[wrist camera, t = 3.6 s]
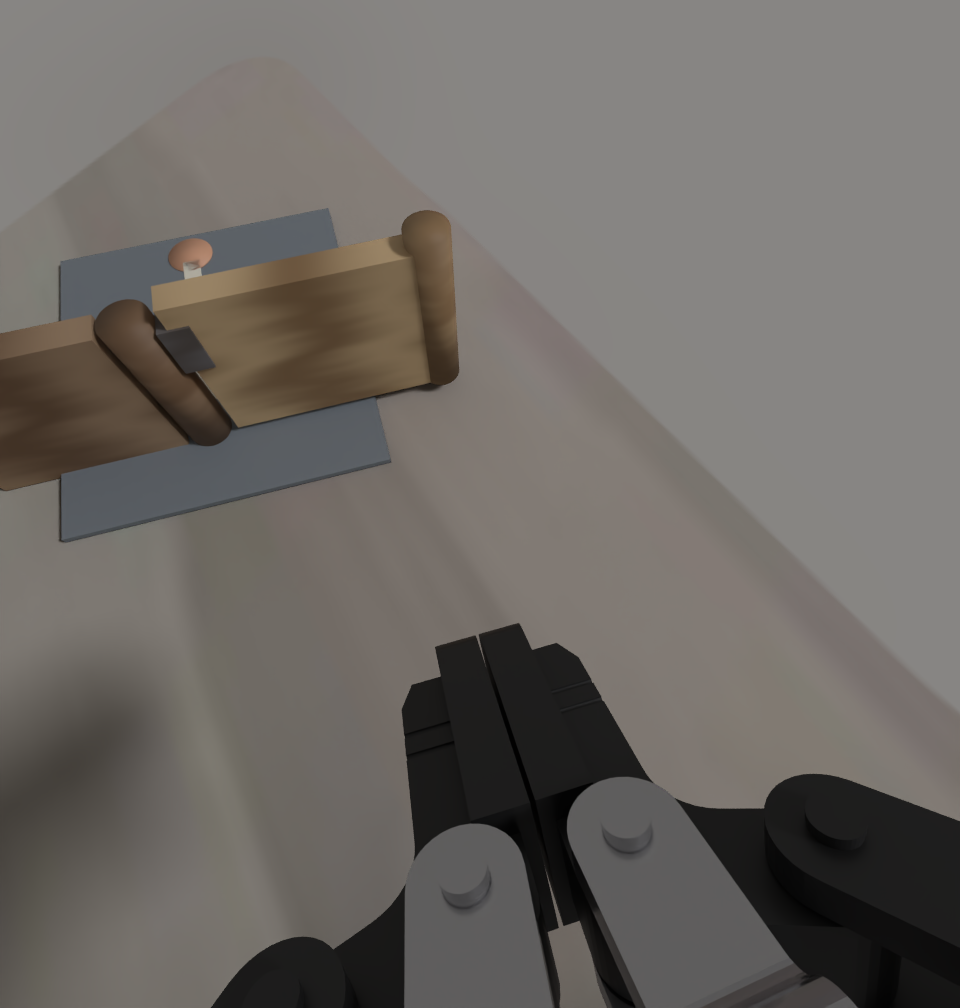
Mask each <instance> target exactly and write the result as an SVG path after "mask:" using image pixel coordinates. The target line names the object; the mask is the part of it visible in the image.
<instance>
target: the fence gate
mask: <svg viewBox="0 0 960 1008" xmlns="http://www.w3.org/2000/svg"><path fill="white" fill-rule="evenodd" d="M151 293H152V305H153V312H154V317H155V329H156V336H157V337H158V338H159V340H160V341H161V342H162V344H163V345H164V346H165V347H166V349H167V350H168V351H169V353H170V354H171V355H172V356H173V358H174V359H175V360H176V362H177V363H178V364H179V366H180V367H181V368H182V369H183V371H184V372H185V373H186V374H188V373H192V372H198V373H199V375H200V376H201V377H202V379H203V380H204V382H205V383H206V384H207V386H208V387H209V388H210V390H211V391H212V392H213V394H214V395H215V396H216V398H217V399H218V400H219V402H220V403H221V405H222V406H223V407H224V409H225V410H226V411H227V413H228V414H229V415H230V417H231V418H232V419H233V421H234V422H235V424H236V425H237V426H238V428H239V427H243V426H247V425H251V424H256V423H260V422H264V421H269V420H273V419H277V418H281V417H286V416H290V415H294V414H299V413H303V412H307V411H311V410H316V409H320V408H324V407H328V406H333V405H337V404H341V403H346V402H350V401H354V400H358V399H363V398H367V397H371V396H375V395H380V394H384V393H388V392H393V391H397V390H401V389H405V388H410V387H414V386H418V385H422V384H427V383H433V384H436V385H445V384H448V383H450V382H452V381H453V380H455V379H456V377H457V376H458V373H459V359H458V342H457V325H456V307H455V290H454V273H453V255H452V238H451V225H450V222H449V220H448V219H447V218H446V217H445V216H444V215H443V214H441V213H439V212H436V211H430V210H424V211H419V212H416V213H413V214H411V215H410V216H408V217H407V218H406V219H405V221H404V222H403V224H402V235H397V236H392V237H388V238H383V239H378V240H373V241H368V242H363V243H359V244H354V245H349V246H344V247H339V248H334V249H329V250H325V251H320V252H315V253H310V254H305V255H300V256H296V257H291V258H286V259H281V260H276V261H271V262H267V263H262V264H257V265H252V266H247V267H242V268H237V269H233V270H228V271H223V272H218V273H213V274H208V275H204V276H199V277H194V278H189V279H184V280H179V281H174V282H170V283H165V284H160V285H155V286H151Z"/></svg>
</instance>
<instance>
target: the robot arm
mask: <svg viewBox="0 0 960 1008" xmlns="http://www.w3.org/2000/svg"><path fill="white" fill-rule="evenodd" d="M479 639H480V643H481V648H482V652H483V656H484V660H485V663H484V660H483V656H482V653H481V650H480V647H479V644H478V641H477V638H476V636H471V637H468V638H464V639H461V640H457V641H454V642H450V643H447V644H443V645H440V646H436V647H435V649H436V654H437V659H438V664H439V669H440V674H441V677H438V678H434V679H431V680H427V681H424V682H420V683H417V684H413V685H412V686H411V688H410V691H409V693H408V696H407V698H406V700H405V703H404V705H403V708H402V717H403V727H404V735H405V748H406V756H407V768H408V779H409V789H410V799H411V810H412V820H413V830H414V841H415V856H414V862H413V863H412V866H411V868H410V870H409V873H408V877H407V880H406V884H405V886H404V888H403V889H402V891H401V893H400V894H399V896H398V897H397V898H396V900H395V901H394V902H393V903H392V905H391V906H390V907H389V908H388V909H387V910H386V911H385V912H384V913H383V914H382V915H381V916H380V917H378V918H377V919H376V920H375V921H373V922H372V923H371V924H369V925H368V926H366V927H365V928H364V929H362V930H361V931H359V932H358V933H356V934H355V935H354V936H352V937H351V938H349V939H348V940H346V941H345V942H344V943H342V944H341V945H339V946H338V947H336V948H335V949H334V950H333V949H332V948H331V947H330V946H329V945H327V944H326V943H325V942H323V941H321V940H318V939H315V938H311V937H295V938H290V939H286V940H283V941H280V942H278V943H276V944H273V945H271V946H269V947H268V948H266V949H265V950H263V951H261V952H260V953H258V954H257V955H256V956H255V957H253V958H252V959H251V960H250V961H249V962H248V963H246V964H245V965H244V966H243V967H242V968H241V969H240V970H239V971H238V973H237V974H236V975H235V976H234V978H233V979H232V980H231V981H230V982H229V984H228V985H227V987H226V988H225V989H224V991H223V992H222V993H221V995H220V996H219V997H218V999H217V1000H216V1001H215V1003H214V1004H213V1006H212V1007H211V1008H560V1004H559V1003H560V983H559V978H558V973H557V969H556V965H555V961H554V957H553V953H552V949H551V945H550V940H549V936H548V932H549V931H552V930H555V929H557V928H559V927H558V922H557V918H556V913H555V909H554V905H553V900H552V896H551V892H550V887H549V883H548V879H547V875H548V878H549V881H550V885H551V888H552V891H553V894H554V897H555V900H556V904H557V907H558V910H559V913H560V916H561V919H562V923H563V926H565V925H568V924H571V923H574V922H577V921H580V923H581V926H582V929H583V932H584V935H585V938H586V940H587V943H588V946H589V949H590V952H591V955H592V959H593V963H594V968H595V973H596V978H597V983H598V986H599V989H600V992H601V994H602V997H603V999H604V1002H605V1004H606V1006H607V1008H960V821H958V820H955V819H952V818H949V817H947V816H944V815H941V814H939V813H936V812H933V811H931V810H928V809H925V808H922V807H920V806H917V805H914V804H912V803H909V802H906V801H904V800H901V799H898V798H896V797H893V796H890V795H887V794H885V793H882V792H879V791H877V790H874V789H871V788H869V787H866V786H863V785H860V784H858V783H855V782H852V781H850V780H846V779H843V778H840V777H836V776H830V775H824V774H804V775H799V776H794V777H791V778H789V779H786V780H784V781H783V782H781V783H779V784H778V785H777V786H776V787H775V788H774V789H773V790H772V791H771V792H770V794H769V795H768V797H767V799H766V803H765V806H764V809H716V808H705V807H699V806H694V805H691V804H688V803H685V802H682V801H680V800H678V799H676V798H674V797H673V796H672V795H670V794H669V793H668V792H667V791H666V790H664V789H663V788H661V787H660V786H658V785H656V784H654V783H653V782H652V781H651V780H650V778H649V777H648V776H647V774H646V773H645V771H644V770H643V768H642V766H641V765H640V763H639V761H638V759H637V758H636V756H635V754H634V752H633V751H632V749H631V747H630V746H629V744H628V742H627V740H626V739H625V737H624V735H623V733H622V732H621V730H620V728H619V727H618V725H617V723H616V721H615V720H614V718H613V716H612V714H611V713H610V711H609V709H608V708H607V706H606V704H605V702H604V701H602V698H601V695H600V694H599V692H598V690H597V689H596V687H595V685H594V683H592V681H591V678H590V676H589V675H588V673H587V671H586V669H585V668H584V666H583V664H582V663H581V661H580V659H579V657H577V656H576V655H574V654H573V653H571V652H570V651H568V650H566V649H565V648H563V647H562V646H560V645H559V644H557V643H555V644H551V645H548V646H544V647H541V648H537V649H534V650H532V649H531V647H530V645H529V643H528V640H527V638H526V636H525V634H524V632H523V630H522V628H521V626H520V624H519V623H517V624H513V625H510V626H506V627H503V628H499V629H496V630H492V631H489V632H485V633H481V634H479ZM485 664H486V666H485ZM544 865H545V866H544ZM545 869H546V870H545ZM546 872H547V874H546Z"/></svg>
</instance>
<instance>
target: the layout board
mask: <svg viewBox="0 0 960 1008" xmlns="http://www.w3.org/2000/svg"><path fill="white" fill-rule="evenodd" d="M334 248H338V245H337V241H336V237H335V233H334V229H333V225H332V221H331V217H330V213H329V209H328V208H327V209H322V210H317V211H312V212H307V213H301V214H296V215H291V216H286V217H281V218H276V219H271V220H266V221H261V222H256V223H251V224H246V225H241V226H236V227H231V228H226V229H221V230H216V231H211V232H206V233H201V234H196V235H191V236H186V237H181V238H176V239H171V240H166V241H161V242H156V243H151V244H146V245H141V246H136V247H131V248H126V249H121V250H116V251H111V252H106V253H101V254H96V255H91V256H86V257H81V258H76V259H70V260H65V261H61V321H63V320H68V319H73V318H77V317H82V316H87V315H92V316H93V317H94V318H95V320H96V318H97V316H98V314H99V313H100V312H101V311H102V310H103V309H104V308H105V307H107V306H108V305H110V304H112V303H114V302H116V301H120V300H125V299H133V300H138V301H140V302H142V303H144V304H145V305H146V306H147V307H148V308H149V309H150V311H151V312H152V314H153V315H154V312H153V305H152V293H151V286H155V285H160V284H165V283H170V282H174V281H179V280H184V279H189V278H194V277H199V276H204V275H208V274H213V273H218V272H223V271H228V270H233V269H237V268H242V267H247V266H252V265H257V264H262V263H267V262H271V261H276V260H281V259H286V258H291V257H296V256H300V255H305V254H310V253H315V252H320V251H325V250H329V249H334ZM196 373H197V374H198V375H199V373H198V372H196ZM199 377H200V378H201V380H202V381H203V382H204V380H203V379H202V377H201V376H200V375H199ZM204 384H205V385H206V386H207V384H206V383H205V382H204ZM207 388H208V389H209V390H210V388H209V387H208V386H207ZM210 392H211V393H212V394H213V392H212V391H211V390H210ZM213 396H214V397H215V398H216V396H215V395H214V394H213ZM216 400H217V401H218V402H219V400H218V399H217V398H216ZM219 404H220V405H221V403H220V402H219ZM221 406H222V405H221ZM222 408H223V409H224V407H223V406H222ZM224 411H225V412H226V413H227V411H226V410H225V409H224ZM227 415H228V416H229V417H230V415H229V414H228V413H227ZM230 419H231V422H232V429H231V432H230V434H229V436H228V437H227V438H226V439H225V440H224V441H222V442H221V443H219V444H217V445H214V446H201V445H199V444H197V443H195V442H194V441H193V440H192V439H191V437H190V436H189V435H188V438H189V444H187V445H183V446H179V447H175V448H170V449H166V450H162V451H158V452H153V453H149V454H145V455H141V456H136V457H132V458H128V459H124V460H119V461H115V462H111V463H107V464H102V465H98V466H94V467H89V468H85V469H81V470H77V471H72V472H68V473H64V474H61V533H62V541H64V542H69V541H73V540H78V539H82V538H86V537H90V536H94V535H98V534H102V533H106V532H110V531H114V530H118V529H122V528H126V527H130V526H134V525H138V524H142V523H147V522H151V521H155V520H159V519H163V518H167V517H171V516H175V515H179V514H183V513H187V512H191V511H195V510H199V509H203V508H207V507H211V506H215V505H220V504H224V503H228V502H232V501H236V500H240V499H244V498H248V497H252V496H256V495H260V494H264V493H268V492H272V491H276V490H280V489H284V488H288V487H293V486H297V485H301V484H305V483H309V482H313V481H317V480H321V479H325V478H329V477H333V476H337V475H341V474H345V473H349V472H353V471H357V470H362V469H366V468H370V467H374V466H378V465H382V464H386V463H390V462H391V459H390V455H389V451H388V447H387V443H386V439H385V435H384V431H383V427H382V423H381V419H380V415H379V411H378V406H377V402H376V398H375V396H371V397H367V398H363V399H358V400H354V401H350V402H346V403H341V404H337V405H333V406H328V407H324V408H320V409H316V410H311V411H307V412H303V413H299V414H294V415H290V416H286V417H281V418H277V419H273V420H269V421H264V422H260V423H256V424H251V425H247V426H243V427H239V428H238V426H237V425H236V424H235V422H234V421H233V419H232V418H231V417H230Z"/></svg>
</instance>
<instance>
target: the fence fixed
mask: <svg viewBox="0 0 960 1008" xmlns="http://www.w3.org/2000/svg"><path fill="white" fill-rule="evenodd" d="M231 429H232V422H231V419H230V417H229V416H228V415H227V413H226V412H225V411H224V409H223V408H222V406H221V405H220V404H219V402H218V401H217V400H216V398H215V397H214V396H213V394H212V393H211V392H210V390H209V389H208V388H207V386H206V385H205V384H204V382H203V381H202V380H201V378H200V377H199V375H198V374H197V373H196V372H192V373H188V374H186V373H185V372H184V371H183V369H182V368H181V367H180V366H179V364H178V363H177V362H176V360H175V359H174V358H173V356H172V355H171V354H170V353H169V351H168V350H167V349H166V347H165V346H164V345H163V344H162V342H161V341H160V340H159V338H158V337H157V336H156V329H155V317H154V315H153V314H152V312H151V311H150V309H149V308H148V307H147V306H146V305H145V304H144V303H142V302H140V301H138V300H133V299H125V300H120V301H116V302H114V303H112V304H110V305H108V306H107V307H105V308H104V309H103V310H102V311H101V312H100V313H99V314H98V316H97V318H96V320H95V318H94V317H93V316H92V315H87V316H82V317H77V318H73V319H68V320H63V321H58V322H54V323H49V324H44V325H39V326H34V327H30V328H25V329H20V330H15V331H11V332H6V333H1V334H0V488H1V489H3V490H5V491H8V490H12V489H16V488H20V487H25V486H29V485H33V484H37V483H42V482H46V481H50V480H54V479H59V478H61V474H64V473H68V472H72V471H77V470H81V469H85V468H89V467H94V466H98V465H102V464H107V463H111V462H115V461H119V460H124V459H128V458H132V457H136V456H141V455H145V454H149V453H153V452H158V451H162V450H166V449H170V448H175V447H179V446H183V445H187V444H189V438H188V435H189V436H190V437H191V439H192V440H193V441H194V442H195V443H197V444H199V445H201V446H214V445H217V444H219V443H221V442H222V441H224V440H225V439H226V438H227V437H228V436H229V434H230V432H231Z"/></svg>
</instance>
